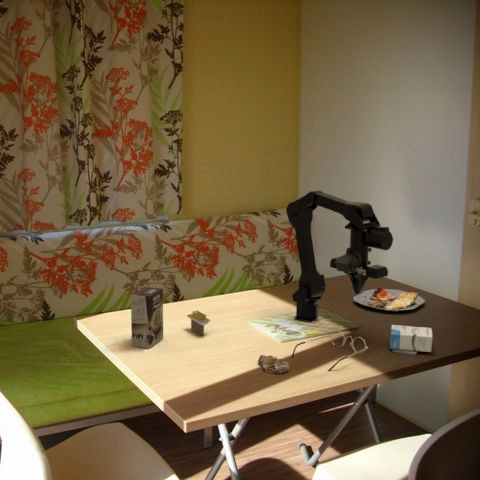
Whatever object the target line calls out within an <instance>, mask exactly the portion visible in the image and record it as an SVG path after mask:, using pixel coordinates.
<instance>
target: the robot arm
mask: <svg viewBox="0 0 480 480" xmlns="http://www.w3.org/2000/svg"><path fill="white" fill-rule="evenodd" d="M319 207H321V208H323V209H327V210H328V211H332V212H334V213H337V214H340V215H341V216H342V217H343V218H344V219H345V220H347V221H349V223H348V224H346V225H345V226H344V229H346V230H350V231H349V234H350V238H349V246H348V247H347V248H346V250H345V254H343V255H341V256H336V257H332V258H331V260H330V261H329V268H331V269H336V270H337V272H343V273H344V274H346V276H348V277H349V280H350V282H351V286H352V288H353V292H354V294H355V295H357V294H359V293H361V291H362V289H363V287H364V286H365V284H366V282H367V281H368V279H369V278H370V279H373V280H375V279H380V278H386V277H388V276H389V269H388V267H387V266H383V265H380V264H374V265H371V263H372V262H371V260H369V252H372V249H378V250H381V251H382V250H383V251H388V250H390V249H391V247H392V245H393V243H394V237H393V234H392V232H391V231H390V227H388V226H381V224H380V222H379V220H378V218H377V215H376V214H375V212H374V209H373V206H372V205H371V204H370V203H368V202H361V201H358V202H357V201H350V200H346V199H343V198H340V197H337V196H333V195H332V194H329V193H326V192H323V191H322V190H311V191H309V192H308V193H306V194H305V195H303V196H302V197H300V198H298V199H296V200H295V201H291V202H289V203H288V205H287V206H286V212H285V213H286V215H287V219H288V221H289V223H290V225H291V226H292V227H293V228H294V233H295V238H296V246H297V251H298V257H299V265H300V276H299V279H298V288H297V290H296V291H295V292H294V293H293V294H292V295H291V296H292V301H293V302H295V303H296V306H295V307H296V309H295V310H296V313H295V314H296V315H295V316H294V318H293V319H294V320H298V321H305V322H310V321H311V323H312V321H313V322H314V321H316V320H317V318H319V311H320V310H319V306H320V305H319V304H318V300H320V301H321V300H322V296H323V295H324V292H325V291H326V288H325V287H327V285H326V282H325V275H324V274H320V272H319V271H318V270H317V265H316V258H315V252H314V251H315V250H314V247H313V240H312V233H311V225H312V222H313V218H314V216H313V215H314V214H313V212H314V211H315V210H316V209H317V208H319Z"/></svg>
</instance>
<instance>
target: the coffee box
mask: <svg viewBox="0 0 480 480" xmlns="http://www.w3.org/2000/svg"><path fill="white" fill-rule="evenodd" d="M163 291H164V288H160V287H152V286H151V287H148V286H144V287H142V288H140V289H138V290H136V291H134V292H132V293H130V307H131V308H130V313H131V314H130V315H131V316H130V317H131V318H130V319H131V321H130V323H131V346H132V347H136V348H143V349H152V348H153V347H154V346H156V345H157V344H159V343H160V342H161V341H162V340H164V292H163Z"/></svg>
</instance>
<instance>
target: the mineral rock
mask: <svg viewBox="0 0 480 480" xmlns="http://www.w3.org/2000/svg"><path fill="white" fill-rule="evenodd" d="M257 363H258V365H259V367H261V368H262V371H263V372H266V373H270V374H282V373H285V372H289V371H291V370H290V368H291V367H290V363H288V362H287V361H284V360H283V359H281V358H280V359H279V358H277V357H276V356H275V357H274V356H273V355H272V354H271V355H268V356H267V355H265V354H260V356H259V358H258V360H257Z"/></svg>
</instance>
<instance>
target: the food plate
mask: <svg viewBox="0 0 480 480" xmlns="http://www.w3.org/2000/svg"><path fill="white" fill-rule="evenodd" d="M352 299H353V301H354V302H355V303H359V305H363V306H366V307H370V308H372V309H376V310H382V311H388V312H395V313H398V312H399V311H401V312H402V311H405V310H406V311H407V310H414V309H416V308H418V307H420V306H421V305H423V304H424V303H425V302H426V300H425V299H424V298H423V297H422V296H421V295H419V293H418V292H417V291H405V290H401V289H391V288H384V287H378V288H376V289H375V288H374V289H369V290H363V291H362V292H361V291H360V293H359V294H355V295H354V296H353V298H352Z"/></svg>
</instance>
